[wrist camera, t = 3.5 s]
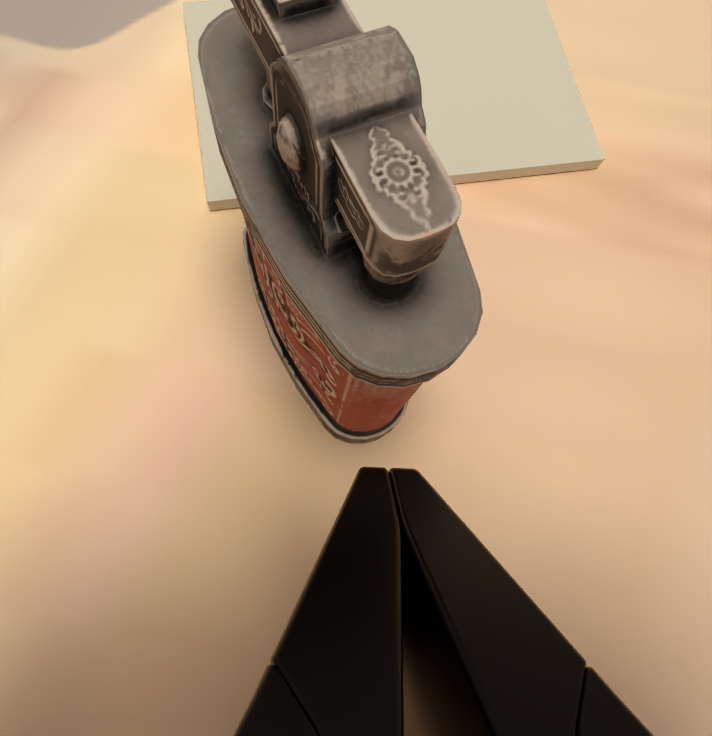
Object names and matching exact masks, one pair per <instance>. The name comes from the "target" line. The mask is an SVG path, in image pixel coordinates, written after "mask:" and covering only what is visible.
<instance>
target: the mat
mask: <svg viewBox="0 0 712 736" xmlns="http://www.w3.org/2000/svg"><path fill="white" fill-rule="evenodd" d="M345 1H346V2H347V4H348V6H349V7H350V9H351V11H352V12H353V14H354V16H355V17H356V19H357V21H358V23H359V24H360V26H361V28H362V29H363V31H364V32H368V31H371V30H375V29H378V28H381V27H385V26H388V25H389V26H391V27H393V28H395V29H397V30H398V31H399V33H400V35H401V36H402V38H403V39H404V41H405V43H406V44H407V46H408V48H409V49H410V51H411V53H412V54H413V56H414V60H415V63H416V66H417V69H418V72H419V76H420V83H421V92H422V108H423V112H424V116H425V122H426V138H427V139H428V141H429V143H430V144H431V146H432V148H433V149H434V151H435V153H436V155H437V156H438V158H439V160H440V161H441V163H442V165H443V166H444V168H445V170H446V171H447V173H448V175H449V177H450V178H451V180H452V182H453V183H454V184H458V183H467V182H476V181H486V180H495V179H504V178H513V177H522V176H531V175H540V174H550V173H559V172H568V171H577V170H586V169H595V168H598V166H599V165H600V164H601V163H602V162H603V160H604V157H603V154H602V151H601V149H600V146H599V143H598V141H597V138H596V135H595V133H594V130H593V127H592V125H591V122H590V119H589V117H588V114H587V111H586V109H585V106H584V103H583V101H582V98H581V95H580V93H579V90H578V87H577V85H576V82H575V79H574V77H573V74H572V71H571V69H570V66H569V63H568V61H567V58H566V55H565V52H564V50H563V47H562V44H561V42H560V39H559V36H558V34H557V31H556V28H555V26H554V23H553V20H552V18H551V15H550V12H549V10H548V7H547V4H546V2H545V0H345ZM233 7H234V6H233V4H232V2H231V0H210V1H191V2H183V10H184V18H185V26H186V34H187V42H188V50H189V58H190V66H191V74H192V82H193V90H194V98H195V106H196V114H197V122H198V130H199V138H200V146H201V154H202V163H203V171H204V179H205V187H206V195H207V202H208V205H209V208H210V211H211V210H221V209H230V208H239V207H240V206H239V203H238V200H237V197H236V195H235V192H234V189H233V187H232V184H231V181H230V179H229V176H228V173H227V171H226V168H225V165H224V163H223V160H222V157H221V155H220V152H219V148H218V144H217V140H216V136H215V132H214V128H213V124H212V119H211V114H210V110H209V105H208V101H207V96H206V92H205V87H204V83H203V78H202V73H201V69H200V64H199V60H198V42H199V38H200V37H201V35H202V33H203V31H204V30H205V28H206V26H207V25H208V23H210V22H211V21H212V20H213V19H215V18H216V17H217V16H218V15H220V14H221V13H222V12H224V11H226V10H228V9H231V8H233Z"/></svg>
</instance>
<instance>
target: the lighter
mask: <svg viewBox="0 0 712 736" xmlns="http://www.w3.org/2000/svg"><path fill="white" fill-rule="evenodd" d="M231 2H232V4H233V6H234V7H233V8H231V9H228V10H226V11H224V12H222V13H221V14H220V15H218V16H217V17H216V18H215V19H213V20H212V21H211V22H210V23H208V25H207V26H206V28H205V30H204V31H203V33H202V35H201V37H200V38H199V42H198V60H199V64H200V69H201V73H202V78H203V83H204V87H205V92H206V96H207V101H208V105H209V110H210V114H211V119H212V124H213V128H214V132H215V136H216V140H217V144H218V148H219V152H220V155H221V157H222V160H223V163H224V165H225V168H226V171H227V173H228V176H229V179H230V181H231V184H232V187H233V189H234V192H235V195H236V197H237V200H238V203H239V206H240V208H241V211H242V214H243V216H244V219H245V223H246V227H245V229H244V231H243V244H244V248H245V253H246V257H247V262H248V266H249V271H250V275H251V280H252V284H253V289H254V293H255V297H256V300H257V303H258V306H259V308H260V311H261V314H262V317H263V319H264V322H265V325H266V328H267V330H268V333H269V336H270V338H271V341H272V344H273V346H274V348H275V349H276V351H277V353H278V355H279V357H280V359H281V360H282V362H283V364H284V366H285V368H286V370H287V371H288V373H289V375H290V377H291V379H292V381H293V382H294V384H295V386H296V388H297V389H298V391H299V392H300V394H301V395H302V396H303V398H304V399H305V401H306V402H307V403H308V405H309V406H310V408H311V409H312V410H313V412H314V413H315V415H316V416H317V417H318V419H319V420H320V421H321V423H322V424H323V426H324V427H325V428H326V430H327V431H329V432H330V433H331V434H332V435H333V436H334V437H335V438H337V439H340V440H342V441H345V442H348V443H367V442H370V441H373V440H377V439H379V438H381V437H382V436H384V435H385V434H386V433H388V432H389V431H391V430H392V429H393V428H394V426H395V425H396V424H397V423H398V421H399V420H400V419H401V418H402V416H403V415H404V413H405V410H406V407H407V404H408V400H409V399H410V398H411V396H412V395H413V394H414V393H415V392H416V390H417V389H418V388H419V387H420V386H421V384H422V383H423V382H427V381H429V380H431V379H432V378H434V377H435V376H437V375H438V374H440V373H441V372H443V371H444V370H446V369H447V368H449V367H450V366H451V365H452V364H453V363H454V362H455V360H456V359H457V358H458V357H459V356H460V355H461V354H462V353H463V351H464V350H465V349H466V347H467V346H468V345H469V343H470V342H471V341H472V339H473V338H474V337H475V336H476V334H477V330H478V327H479V323H480V320H481V316H482V313H483V310H482V302H481V293H480V289H479V286H478V283H477V280H476V277H475V274H474V271H473V269H472V266H471V263H470V260H469V257H468V254H467V251H466V248H465V246H464V243H463V240H462V237H461V234H460V231H459V228H458V226H457V223H456V222H457V220H458V218H459V216H460V214H461V199H460V196H459V194H458V192H457V189H456V187H455V185H454V183H453V182H452V180H451V178H450V177H449V175H448V173H447V171H446V170H445V168H444V166H443V165H442V163H441V161H440V160H439V158H438V156H437V155H436V153H435V151H434V149H433V148H432V146H431V144H430V143H429V141H428V139H427V138H426V122H425V116H424V112H423V108H422V92H421V83H420V76H419V72H418V69H417V66H416V63H415V60H414V56H413V54H412V53H411V51H410V49H409V48H408V46H407V44H406V43H405V41H404V39H403V38H402V36H401V35H400V33H399V31H398V30H397V29H395V28H393V27H391V26H389V25H388V26H385V27H381V28H378V29H375V30H371V31H368V32H364V31H363V29H362V28H361V26H360V24H359V23H358V21H357V19H356V17H355V16H354V14H353V12H352V11H351V9H350V7H349V6H348V4H347V2H346V1H345V0H231Z"/></svg>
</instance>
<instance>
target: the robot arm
mask: <svg viewBox="0 0 712 736" xmlns="http://www.w3.org/2000/svg"><path fill="white" fill-rule="evenodd" d="M234 736H653V735H652V733H651V732H650V731H649V730H648V729H647V728H646V727H645V726H644V725H643V724H642V723H641V721H640V720H639V719H638V718H637V717H636V716H635V715H634V714H633V713H632V712H631V711H630V710H629V708H628V707H627V706H626V705H625V704H624V703H623V702H622V701H621V700H620V699H619V698H618V696H617V695H616V694H615V693H614V692H613V691H612V690H611V688H610V687H609V686H608V685H607V684H606V683H605V682H604V681H603V679H602V678H601V677H600V676H599V675H598V674H597V673H596V672H595V670H594V669H593V668H591V667H587V668H586V661H585V659H584V658H583V657H582V656H581V655H580V654H579V653H578V651H577V650H576V649H575V648H574V647H573V646H572V645H571V644H570V642H569V641H568V640H567V639H566V638H565V637H564V636H563V634H562V633H561V632H560V631H559V630H558V629H557V628H556V627H555V625H554V624H553V623H552V622H551V621H550V620H549V619H548V617H547V616H546V615H545V614H544V613H543V612H542V611H541V610H540V608H539V607H538V606H537V605H536V604H535V603H534V602H533V600H532V599H531V598H530V597H529V596H528V595H527V594H526V593H525V591H524V590H523V589H522V588H521V587H520V586H519V585H518V583H517V582H516V581H515V580H514V579H513V578H512V577H511V576H510V574H509V573H508V572H507V571H506V570H505V569H504V568H503V566H502V565H501V564H500V563H499V562H498V561H497V560H496V559H495V557H494V556H493V555H492V554H491V553H490V552H489V551H488V549H487V548H486V547H485V546H484V545H483V544H482V543H481V542H480V540H479V539H478V538H477V537H476V536H475V535H474V534H473V532H472V531H471V530H470V529H469V528H468V527H467V526H466V525H465V523H464V522H463V521H462V520H461V519H460V518H459V517H458V515H457V514H456V513H455V512H454V511H453V510H452V509H451V508H450V506H449V505H448V504H447V503H446V502H445V501H444V500H443V498H442V497H441V496H440V495H439V494H438V493H437V492H436V491H435V489H434V488H433V487H432V486H431V485H430V484H429V483H428V481H427V480H426V479H425V478H424V477H423V476H422V475H421V474H420V472H419V471H417V470H415V469H404V468H392V469H390V470H389V472H388V470H387V469H385V468H377V467H362V468H360V470H359V471H358V473H357V475H356V477H355V479H354V482H353V484H352V486H351V488H350V490H349V492H348V494H347V497H346V499H345V501H344V503H343V505H342V507H341V510H340V512H339V514H338V516H337V518H336V520H335V522H334V525H333V527H332V529H331V531H330V533H329V535H328V537H327V540H326V542H325V544H324V546H323V548H322V550H321V553H320V555H319V557H318V559H317V561H316V563H315V565H314V568H313V570H312V572H311V574H310V576H309V578H308V581H307V583H306V585H305V587H304V589H303V591H302V593H301V596H300V598H299V600H298V602H297V604H296V606H295V608H294V611H293V613H292V615H291V617H290V619H289V621H288V624H287V626H286V628H285V630H284V632H283V634H282V636H281V639H280V641H279V643H278V645H277V647H276V649H275V652H274V654H273V656H272V658H271V665H268V666H267V668H266V670H265V672H264V674H263V676H262V678H261V681H260V683H259V685H258V687H257V689H256V691H255V693H254V696H253V698H252V700H251V702H250V704H249V706H248V708H247V710H246V712H245V714H244V716H243V718H242V720H241V722H240V724H239V726H238V728H237V730H236V732H235V734H234Z"/></svg>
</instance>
